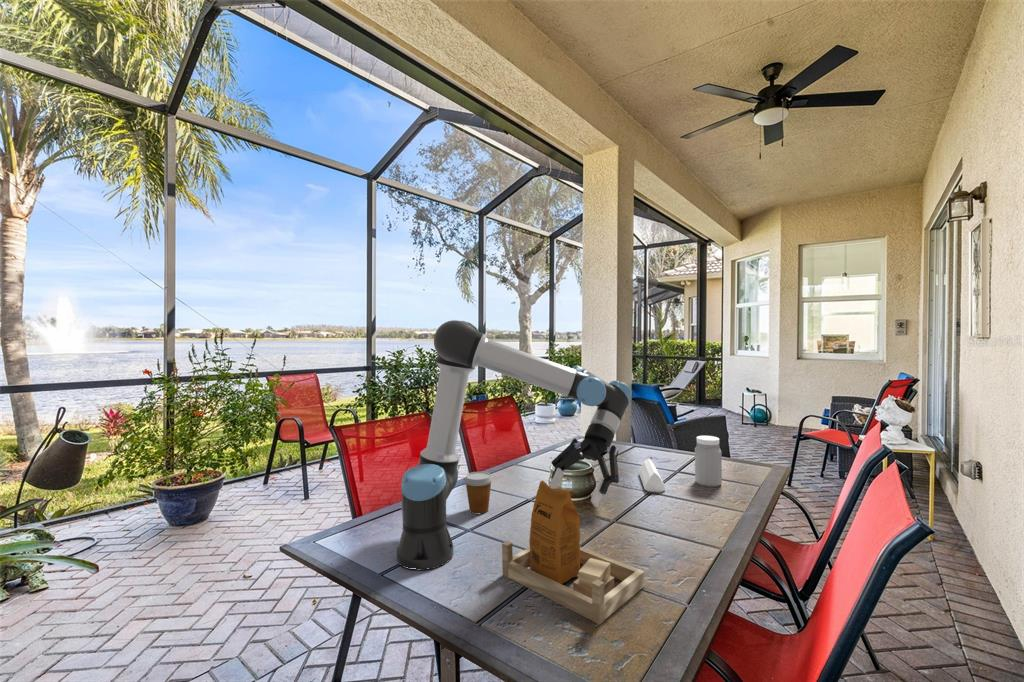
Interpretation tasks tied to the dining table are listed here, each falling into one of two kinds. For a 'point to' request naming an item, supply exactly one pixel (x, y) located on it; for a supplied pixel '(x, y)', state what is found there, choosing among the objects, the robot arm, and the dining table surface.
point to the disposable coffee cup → (478, 491)
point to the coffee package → (554, 535)
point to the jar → (708, 461)
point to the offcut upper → (594, 572)
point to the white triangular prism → (651, 477)
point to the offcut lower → (588, 591)
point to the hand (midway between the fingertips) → (571, 497)
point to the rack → (588, 607)
